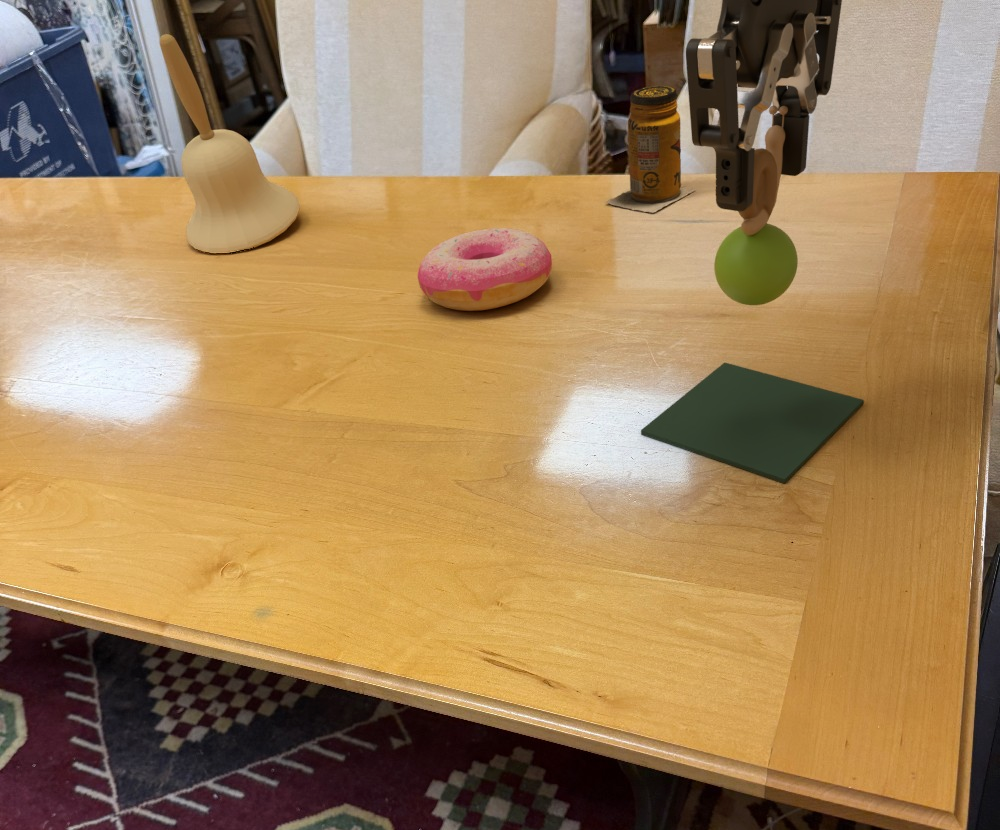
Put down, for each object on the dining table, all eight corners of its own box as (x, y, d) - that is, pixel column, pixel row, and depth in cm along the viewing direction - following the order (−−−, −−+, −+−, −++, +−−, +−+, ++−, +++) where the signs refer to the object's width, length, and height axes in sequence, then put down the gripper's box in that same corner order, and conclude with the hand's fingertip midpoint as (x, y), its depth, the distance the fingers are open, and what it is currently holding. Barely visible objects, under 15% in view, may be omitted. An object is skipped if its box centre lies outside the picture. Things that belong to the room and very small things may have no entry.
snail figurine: (809, 283, 64) (822, 105, 57) (780, 323, 60) (790, 137, 53) (735, 275, 67) (738, 104, 60) (702, 313, 63) (701, 134, 56)
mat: (724, 366, 76) (724, 362, 76) (863, 404, 69) (864, 399, 69) (640, 434, 70) (640, 429, 69) (784, 483, 62) (785, 479, 62)
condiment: (696, 190, 110) (696, 85, 103) (653, 214, 106) (650, 105, 99) (647, 182, 115) (644, 81, 107) (604, 205, 110) (598, 100, 103)
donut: (577, 273, 95) (573, 226, 92) (507, 329, 87) (500, 280, 84) (474, 258, 102) (467, 215, 99) (399, 309, 94) (389, 263, 91)
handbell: (320, 197, 123) (251, 0, 104) (279, 263, 113) (195, 58, 95) (220, 202, 127) (137, 13, 109) (172, 266, 117) (72, 70, 99)
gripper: (777, -132, 55) (765, 150, 65) (638, -93, 47) (649, 221, 57) (900, -144, 51) (867, 161, 61) (769, -103, 43) (756, 239, 53)
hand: (761, 189), depth 59 cm, fingers closed on snail figurine, 6 cm apart
